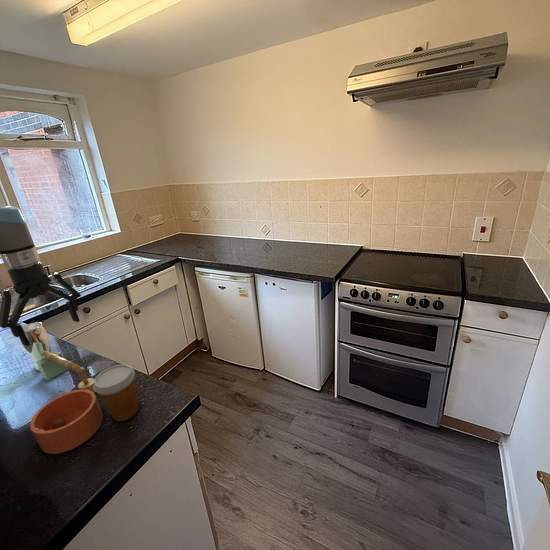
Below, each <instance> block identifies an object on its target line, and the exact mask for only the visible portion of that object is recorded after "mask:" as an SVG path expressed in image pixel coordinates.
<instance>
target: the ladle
mask: <svg viewBox="0 0 550 550" xmlns="http://www.w3.org/2000/svg"><path fill="white" fill-rule="evenodd" d="M51 352H52V351H51ZM51 352H49V351H43V352H42V356H43V357H45V358H47V359H49V360H51V361H53V362H55V363H57V364H59V365H61V366H63V367H65V368H67V370H70V371H72V372H74V373H75V374H78V375H80V378H81V380H82V381H80V382H79V383H78V384H77V388H78V389H77V390H82V389H83V390H90V391H92V392H94V394H95V393H96V392H95V391H94V389H93V386H94V380H95V378H94V377H89V378H88V377H87V373H86V368H85V367H83V366H81V365H80V364H78V363H75V362H73V361H71V360H68V359H66V358H64V357H63V356H62V357H63V358H62V357H60V356H58V355H55V354H53V353H54V352H52V353H51Z"/></svg>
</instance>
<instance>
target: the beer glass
mask: <svg viewBox="0 0 550 550" xmlns="http://www.w3.org/2000/svg"><path fill="white" fill-rule="evenodd" d="M22 328H23V330H24V332H25V335H26V337H27V339H28V341H29V343H30V345H29V346H25V345H23V343H22V341H21V339H20V337H18V338H19V341H20V343H21V345H22V347H23V348H24V351H26V352H27V354H28V355H29V356H30V357H31V359H32V360H33V361H32V362H33V364H34V368H35V371H40V369H39V367H38V365H37V363H36V362H37V361H39V360H41V359H43V358H45V357H43V356H42V352H43V351H49V352H51V353H53V352H52V349H51V344H50V343H51V342H50V338H49V335H48V333H47V330H46V329H45V327H44V325H43V323H42V322H41V321H35V322H30V323H28V324H25V325H23V326H22Z"/></svg>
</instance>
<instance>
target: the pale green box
mask: <svg viewBox="0 0 550 550" xmlns="http://www.w3.org/2000/svg"><path fill="white" fill-rule="evenodd" d="M52 353H53V354H55V355H58V356H60V357H62V358H64V357H63V354H62V352H59V351H56V350H55V351H54V352H52ZM36 363H37V365H38V367H39V369H40V370H39V371H40V374H41V376H42V378H43V379H44V380H46V381H47V382H48V381H50V380H52V379H55V377H56V378H57V376H59V375H61V374H63V373H64V372H66V371H67V370H68V369H67V368H65V367H63V366H61V365H59V364H57V363H55V362H53V361H51V360H49V359H47V358H43V359H41V360H39V361H37V362H36Z"/></svg>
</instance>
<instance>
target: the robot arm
mask: <svg viewBox="0 0 550 550" xmlns="http://www.w3.org/2000/svg"><path fill="white" fill-rule="evenodd" d="M0 258H1V260H2V262H3V265H4V267H5V268H6V269H7V273H8V276H9V278H10V280H11V282H12V284H13V287H12V288H8V289H1V290H0V297H1V302H0V328H2V329H7V328H9V329H10V331H11V333H12V335H13V336H14V337H15V338H19V337H20V338H19V340H20V339H21V341H22V343H23V345H25V346H29V345H30V343H29V341H28V339H27V337H26V335H25V332H24V330H23V328H22V327H23V326H22V324H21V323H19V321H20V319H21V316H22V314H23V312H24V310H25V308H26V305H27V304H28V303H29V301H30V299H36V298H37V297H39V296H44V295H46V294H47V292H48V293H50V294H53V295H55V296H58V297H60V298H62V299H64V300H66V302H65V304H66V307H67V309H68V312H69V314H70V317H71V320H72V321H73V322H76V323H79V322H81V320H80V317H79V315H78V312H77V311H79V306H78V303H77V301H78V298H81V297H82V294H81V293H80V292H79V291H78V290H76V288H74V287H73V286H71V285H70V284H69V283H68V282H67V281H66V280H64V279H63V277H62V275H61V273H58V272H52V273H51V275H49V276H48V275H47V272H46V270H45V267H44V264H43V262H41V261H40V260H41V258H40V255H39V252H38V251H37V247H36V246H35V243H34V240H33V237H32V235H31V232H30V230H29V228H28V225H27V222H26V221H25V218H24V216H23V214H22V212H21V210H20V208H19V207H17V206H14V205H8V206H0ZM51 281H53V282H55V283H57V284H58V285H59V286H60V287H61V288H62V289H64V290H65V291H67V292H68V293H69V294H70V295H69V294H67V293H64V292H62V291H61V290H57V289H55V288H53V287H51V286H50V284H51ZM15 293H16V294H18V297H17V300H16V303H15V305H14V307H13V309H12V311H11V308H12V307H11V306H12V298H13V297H14V295H15ZM10 312H11V314H10ZM21 341H20V342H21ZM22 343H21V344H22ZM23 345H22V346H23Z"/></svg>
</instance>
